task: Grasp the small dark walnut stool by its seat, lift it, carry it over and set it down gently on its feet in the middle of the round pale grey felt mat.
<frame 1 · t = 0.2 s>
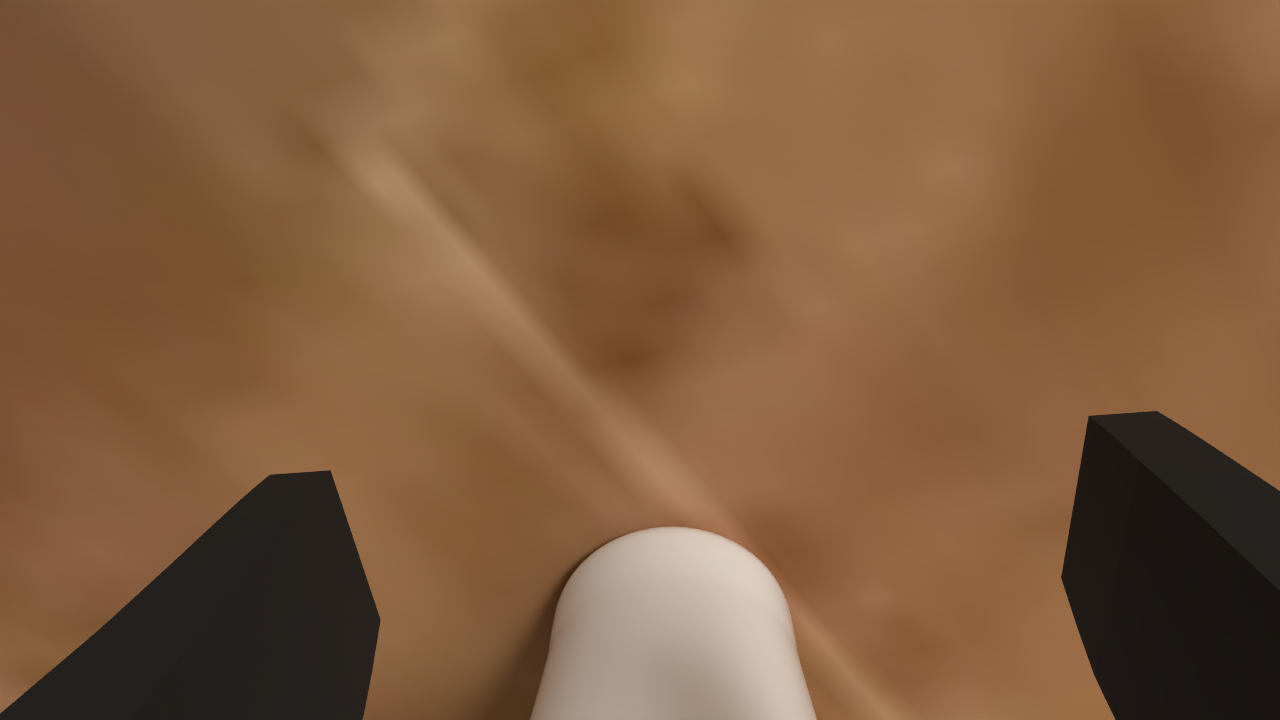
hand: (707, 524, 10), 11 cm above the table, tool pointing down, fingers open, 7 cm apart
drinking glass: (672, 607, 23), on the table
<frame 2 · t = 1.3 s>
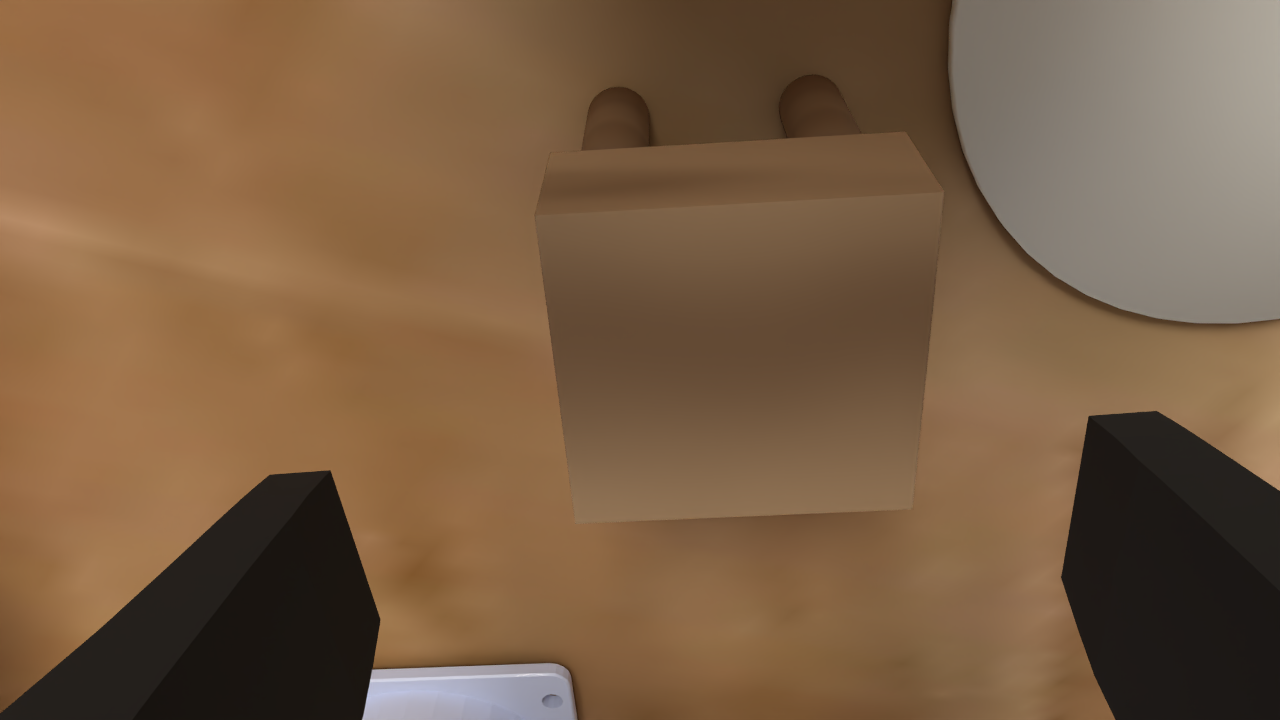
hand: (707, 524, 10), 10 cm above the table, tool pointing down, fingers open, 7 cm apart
stool: (716, 201, 19), on the table
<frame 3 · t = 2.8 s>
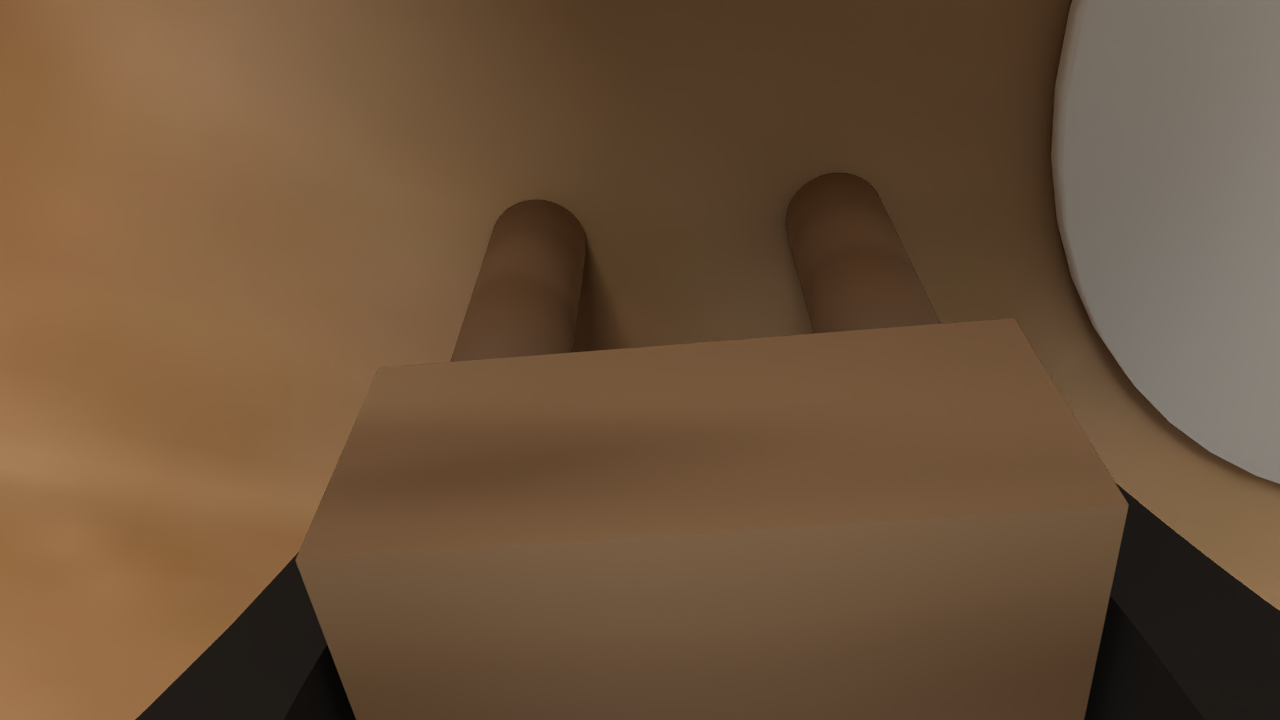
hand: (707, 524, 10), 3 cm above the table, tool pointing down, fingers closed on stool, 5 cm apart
stool: (695, 356, 12), on the table, touching gripper
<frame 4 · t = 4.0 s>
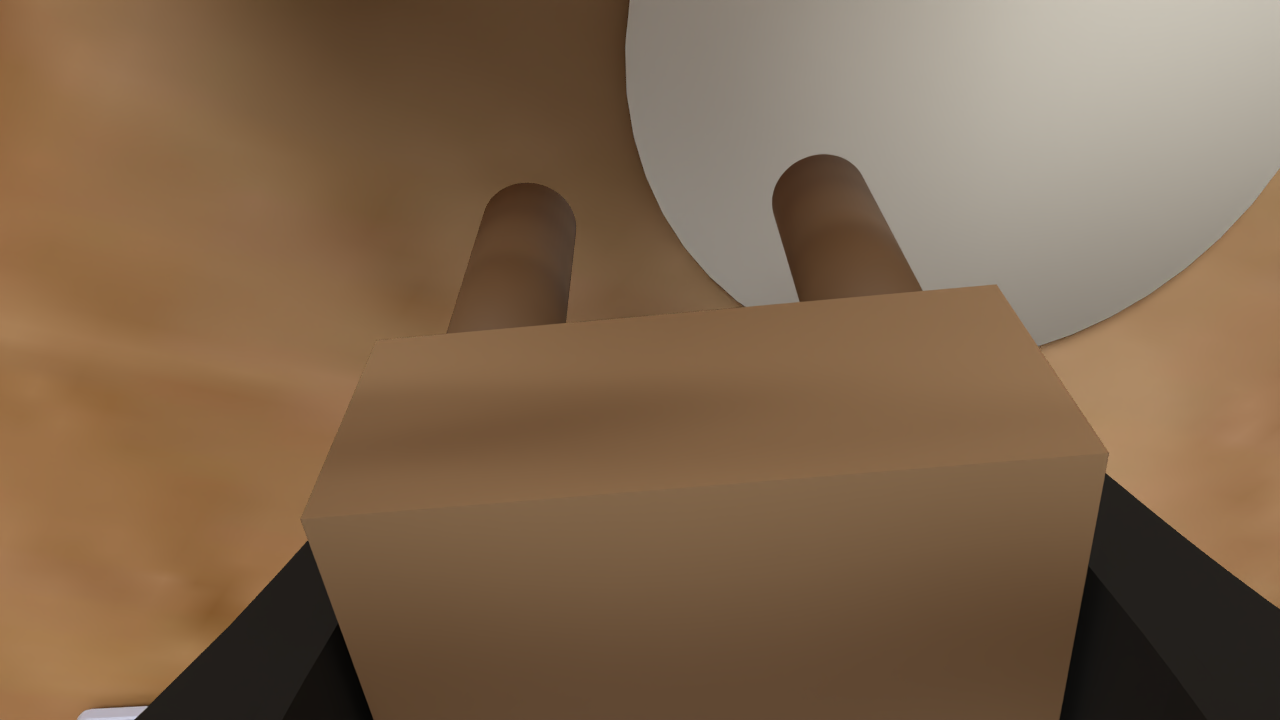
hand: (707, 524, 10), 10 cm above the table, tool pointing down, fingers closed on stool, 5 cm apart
mat: (972, 57, 17), on the table
stool: (684, 337, 13), point 7 cm above the table, touching gripper
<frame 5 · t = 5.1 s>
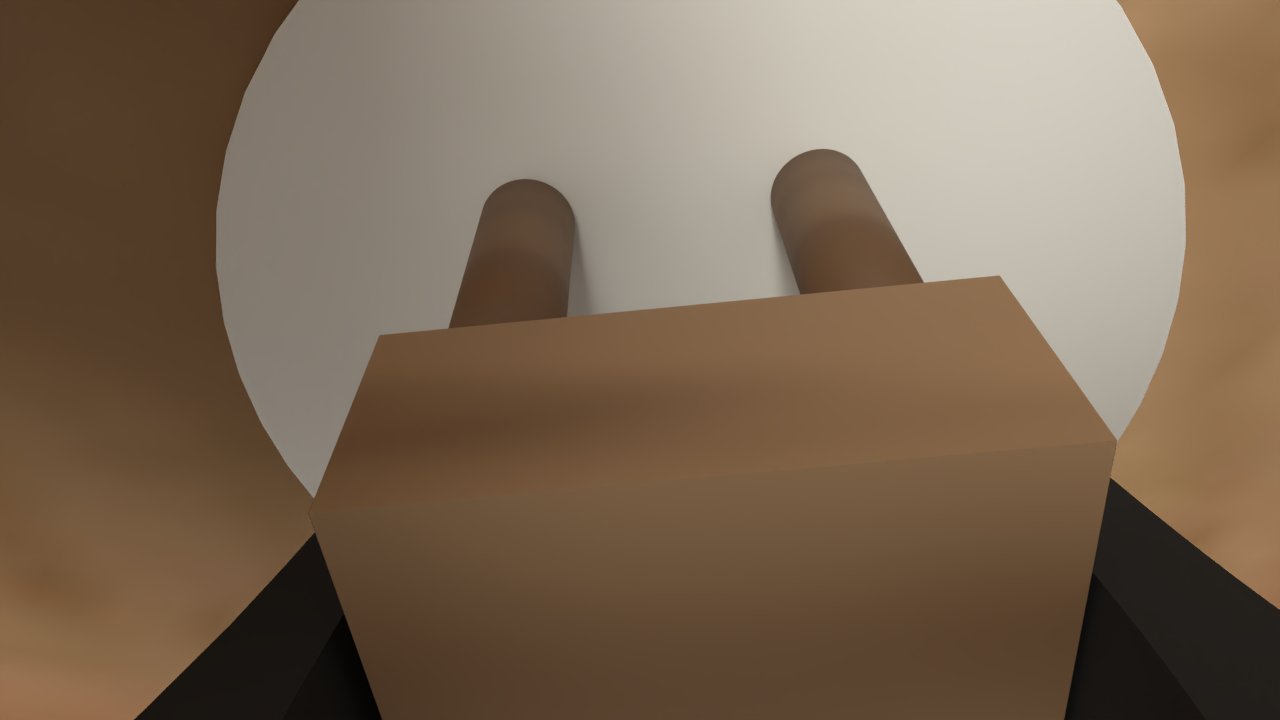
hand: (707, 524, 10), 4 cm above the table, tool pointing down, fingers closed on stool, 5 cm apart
mat: (693, 322, 13), on the table
stool: (683, 333, 13), point 1 cm above the table, touching gripper
when the fingers open (4 cm above the table, at t = 5.6 s): stool stays where it is, resting on mat.
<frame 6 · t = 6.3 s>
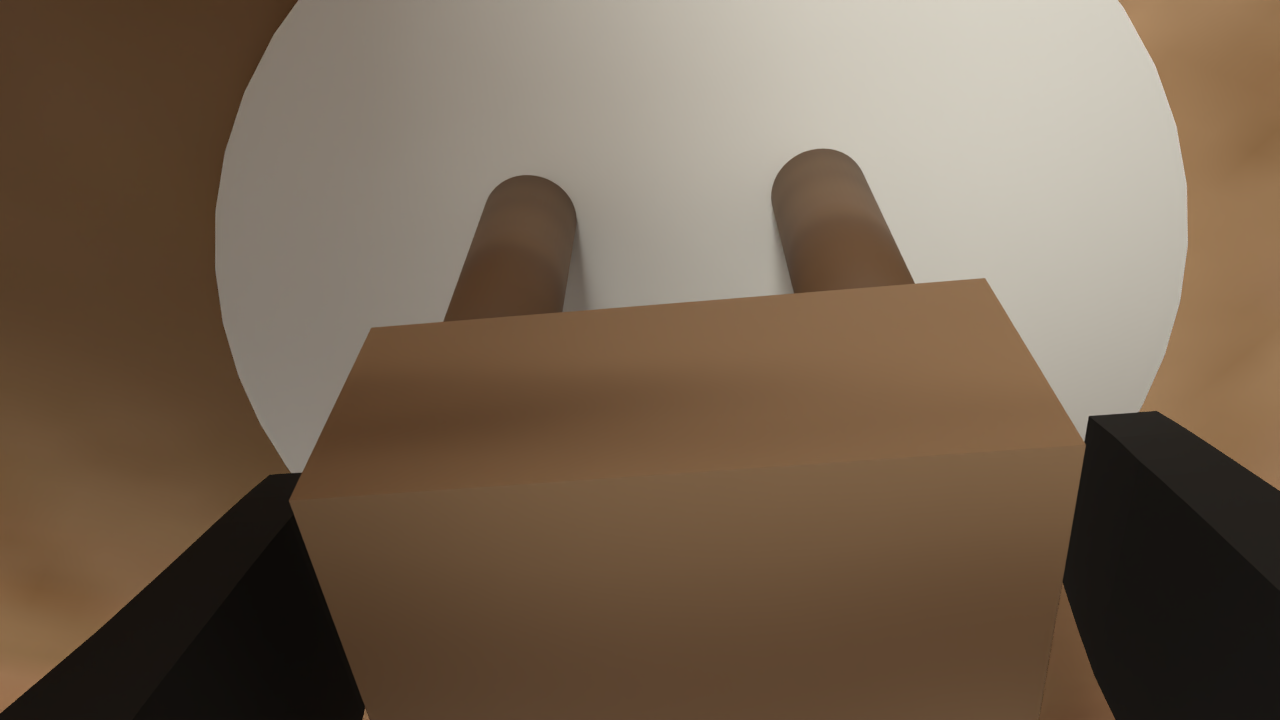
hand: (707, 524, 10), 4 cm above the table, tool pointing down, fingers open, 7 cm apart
mat: (694, 324, 13), on the table
stool: (683, 330, 13), resting on mat
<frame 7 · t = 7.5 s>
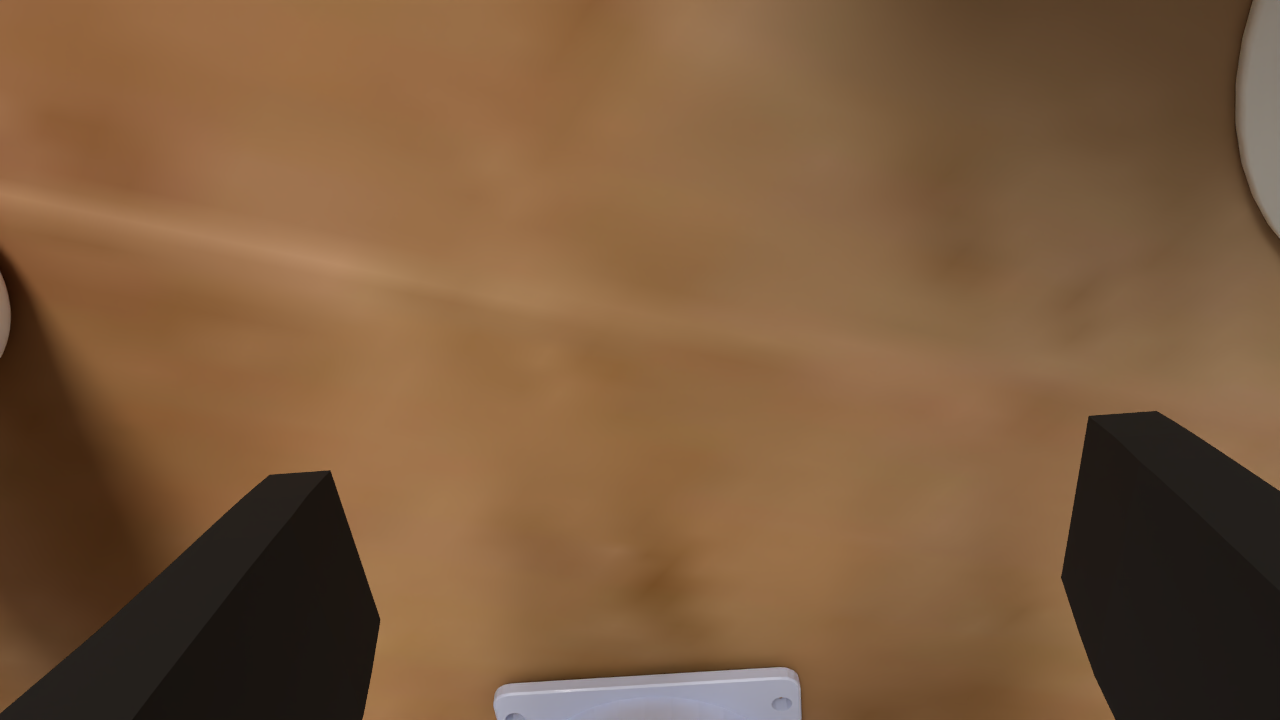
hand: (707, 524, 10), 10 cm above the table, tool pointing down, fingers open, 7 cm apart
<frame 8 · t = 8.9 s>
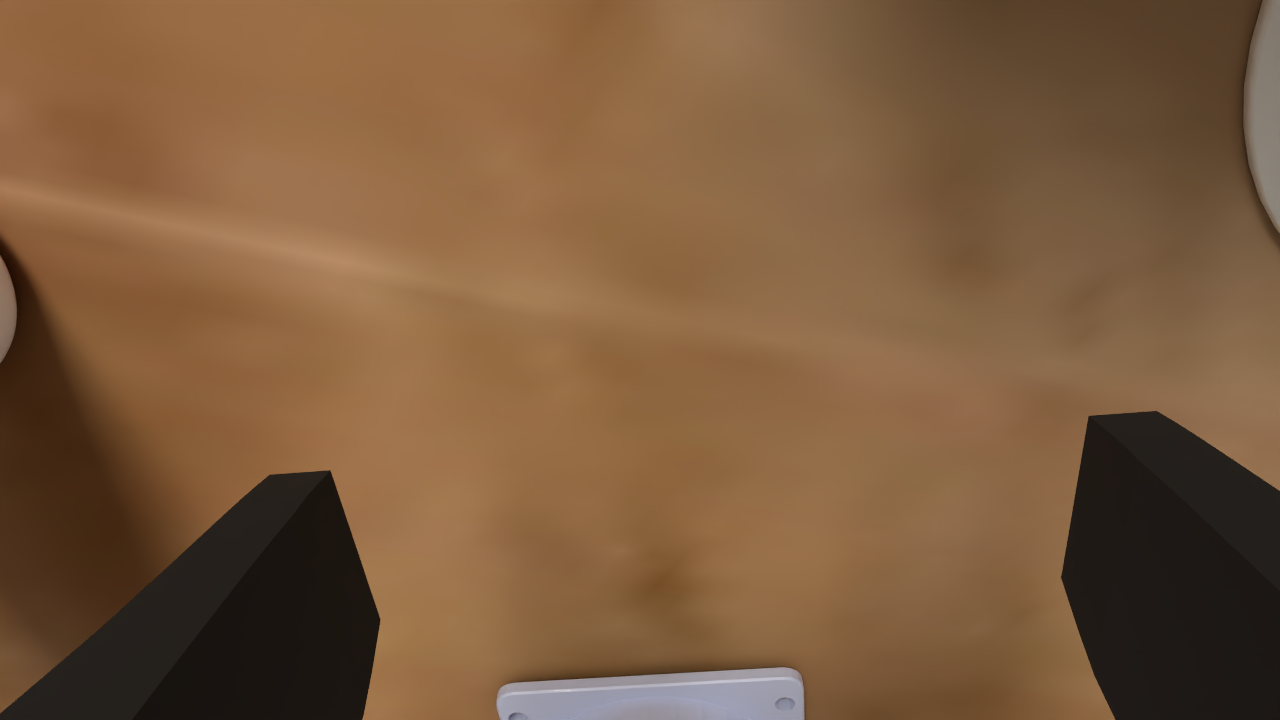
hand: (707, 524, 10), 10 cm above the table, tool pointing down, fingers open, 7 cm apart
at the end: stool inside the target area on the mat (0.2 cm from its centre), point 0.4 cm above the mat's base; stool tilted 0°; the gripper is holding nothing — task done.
